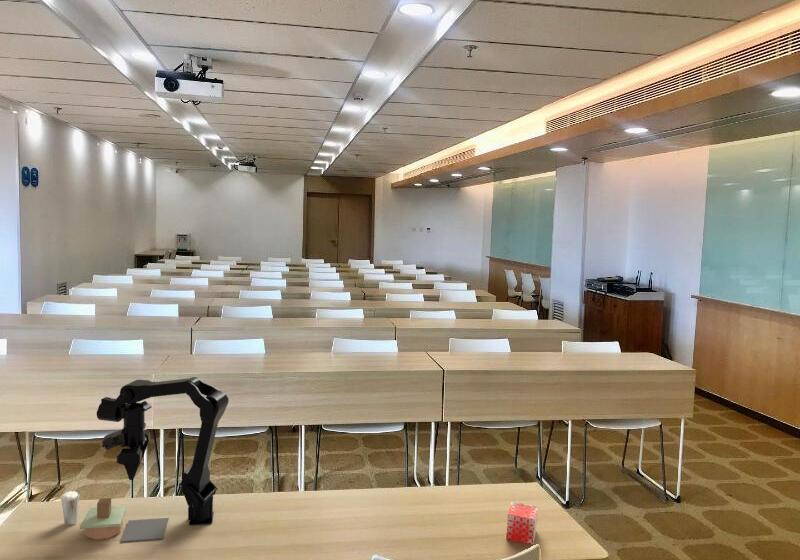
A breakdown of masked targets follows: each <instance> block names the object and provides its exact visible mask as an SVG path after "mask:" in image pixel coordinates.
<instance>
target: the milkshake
mask: <svg viewBox="0 0 800 560" xmlns="http://www.w3.org/2000/svg"><path fill="white" fill-rule="evenodd" d="M80 492H81V491H79V492H77V491H74V490H73V491H72V490H71V491H67V492H65V493H63V494H62V495H61V498H60V499H61V506H62V514H63V523H64V525H65V526H67V527H69V526H74V525H75V524H77V522H78V518H79V517H78V515H79V502H80Z"/></svg>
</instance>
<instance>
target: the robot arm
mask: <svg viewBox="0 0 800 560" xmlns="http://www.w3.org/2000/svg"><path fill="white" fill-rule="evenodd" d="M182 394H183V395H185V394H186V395H187V396H188V397H189V398H190V399H191V400H190V401H192V403H193V404H194V405H195V406H196V407H197V408H198V409H199V417H200V421H201V425H200V428H199V433H198V438H197V442H196V447H195V451H194V456H193V458H192V464H191V465H190V466H188V468H186V469H185V471H183V472H182V475H181V482H180V484H179V486H181V487H180V489H181V490H180V491H181V493H182V495H183V496H184V498H185V502H186V504H187V520H188V521H189V522H188V525H189V526H197V525H211V524H213V520H214V496H215V495H216V493H217V491H218V487H217V486H216V485H215V484H214V483H213V482H212V480H211V479H210V478H211V471H210V468H209V463H210V458H211V454H212V450H213V446H214V441H215V436H216V434H217V429H218V424H219V422H220V420H221V418H222V416H223V415H224V414H225V412H226V409H227V407H228V404H229V401H230V400H229V396H228V395H227V393H225V392H224V391H222V390H220V389H218V388H216V387H215V386H214V385H212V384H210V383H208V382H206V381H205V382H204V381H203V380H202V379H200V378H199V377H197V376H192V377H189V378H188V377H187V378H179V379H172V380H170V379H169V380H162V381H151V380H148V379H136V380H133V381H131V382H129V383H126V384H125V385H123V386H122V387H121V388H120V390H119V395H118V396H117V397H116V398H112V397H110V396H109V397H108V396H105V397H103V398H101V399H100V404H99V406H98V408H97V411H96V417H97V419H98V420H99V421H103V422H104V421H106V422H107V421H108V422H113V423H114V422H115V423H119V422H121V421H122V420H123V427H122V429H120V430H116V431H113V432H111V433H108V434H106V435H105V436H104V437H103V438H102V440H101V442H102V443H101V444H102V446H101V447H102V448H104V449H105V451H109V450H111V449H113V448H115V447H119V446H120V448H122V449H120V450H119V451H118V453H117V454H116V463H117V464H119V465H123V466H124V468H125V471H126V474H127V477H128V480H129V481H133V480H134V479H135V477H136V473H137V471H138V470H139V467H140V465H141V463H142V460H143V457H144V455H145V453H146V450H147V448H148V446H149V442H150V439H151V432H150V430H149V429H146V426H147V424H146V422H145V412H146V411H148V410H150V409H151V408H152V405H151V404H150V403H148V402H147V401H146V399H150V398H154V397H155V398H157V397H164V396H173V395H182ZM125 447H126V448H125Z"/></svg>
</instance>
